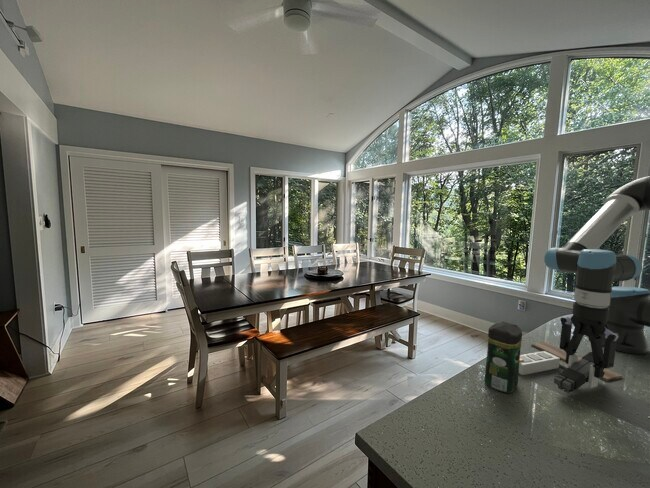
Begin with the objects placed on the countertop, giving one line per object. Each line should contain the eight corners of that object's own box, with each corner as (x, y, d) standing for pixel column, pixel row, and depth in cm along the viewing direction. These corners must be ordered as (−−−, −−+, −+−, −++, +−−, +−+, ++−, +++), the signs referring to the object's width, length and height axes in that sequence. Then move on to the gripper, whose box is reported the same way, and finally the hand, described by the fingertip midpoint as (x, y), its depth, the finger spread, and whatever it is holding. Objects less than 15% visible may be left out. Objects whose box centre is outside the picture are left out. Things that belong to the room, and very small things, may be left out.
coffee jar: (491, 373, 92) (496, 317, 90) (520, 384, 86) (526, 325, 84) (479, 384, 86) (484, 325, 84) (510, 398, 80) (516, 334, 78)
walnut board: (544, 343, 113) (545, 341, 113) (621, 377, 90) (622, 375, 90) (531, 345, 111) (531, 343, 111) (606, 381, 88) (607, 378, 88)
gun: (611, 376, 87) (609, 349, 84) (573, 414, 80) (570, 386, 78) (592, 369, 91) (590, 342, 88) (555, 404, 84) (551, 377, 82)
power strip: (547, 359, 101) (549, 348, 100) (587, 378, 90) (588, 366, 89) (508, 366, 96) (509, 355, 95) (544, 388, 84) (545, 375, 84)
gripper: (548, 296, 89) (541, 366, 92) (622, 316, 72) (610, 402, 75) (566, 293, 91) (558, 363, 94) (641, 313, 74) (629, 397, 77)
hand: (581, 380), depth 84 cm, fingers closed on gun, 5 cm apart
